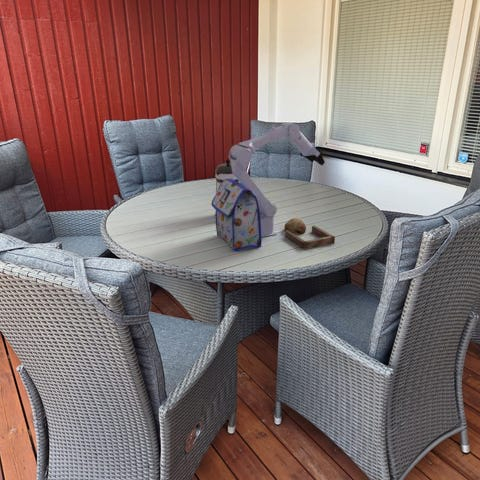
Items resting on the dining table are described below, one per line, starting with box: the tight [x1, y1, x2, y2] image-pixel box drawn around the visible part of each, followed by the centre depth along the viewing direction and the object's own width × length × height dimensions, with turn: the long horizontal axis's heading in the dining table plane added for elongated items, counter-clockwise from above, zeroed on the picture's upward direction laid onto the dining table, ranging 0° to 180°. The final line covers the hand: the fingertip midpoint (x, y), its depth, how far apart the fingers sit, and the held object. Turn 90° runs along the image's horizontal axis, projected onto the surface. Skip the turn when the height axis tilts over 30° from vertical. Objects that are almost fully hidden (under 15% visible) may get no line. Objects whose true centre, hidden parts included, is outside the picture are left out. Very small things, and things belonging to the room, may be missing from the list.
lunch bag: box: [210, 179, 263, 252], centre depth 172 cm, size 23×17×27 cm
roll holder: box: [284, 225, 336, 250], centre depth 178 cm, size 16×16×3 cm
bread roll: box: [284, 217, 307, 236], centre depth 188 cm, size 10×10×8 cm
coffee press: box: [214, 158, 240, 217], centre depth 204 cm, size 17×16×30 cm
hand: (318, 162), depth 185 cm, fingers open, 7 cm apart
